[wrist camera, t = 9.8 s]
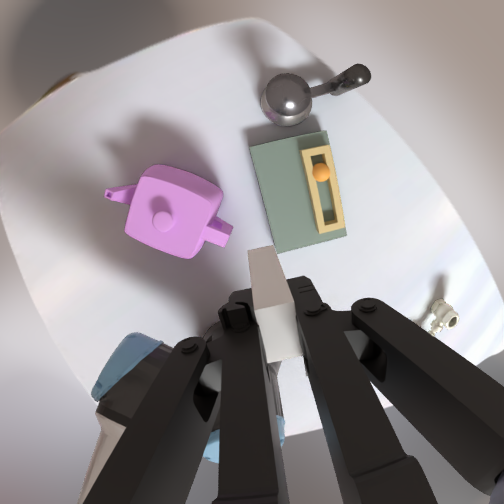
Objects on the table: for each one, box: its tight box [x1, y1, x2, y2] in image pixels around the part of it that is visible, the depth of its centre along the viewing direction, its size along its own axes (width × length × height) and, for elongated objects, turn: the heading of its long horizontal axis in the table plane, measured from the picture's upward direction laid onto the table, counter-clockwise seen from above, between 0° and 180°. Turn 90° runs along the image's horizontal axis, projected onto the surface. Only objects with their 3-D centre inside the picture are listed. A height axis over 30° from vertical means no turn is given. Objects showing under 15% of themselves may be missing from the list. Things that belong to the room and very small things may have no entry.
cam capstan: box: [261, 64, 371, 126], centre depth 32 cm, size 13×7×11 cm, turn 112°
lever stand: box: [249, 131, 347, 254], centre depth 39 cm, size 16×11×5 cm
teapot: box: [104, 164, 233, 259], centre depth 37 cm, size 18×10×10 cm, turn 66°
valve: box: [428, 299, 459, 336], centre depth 50 cm, size 7×7×12 cm
